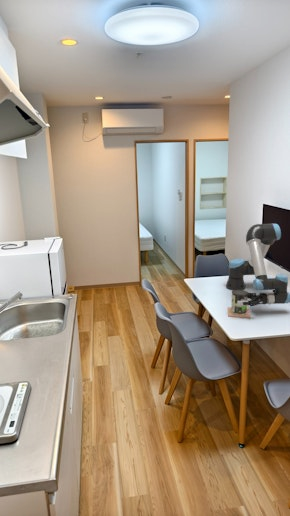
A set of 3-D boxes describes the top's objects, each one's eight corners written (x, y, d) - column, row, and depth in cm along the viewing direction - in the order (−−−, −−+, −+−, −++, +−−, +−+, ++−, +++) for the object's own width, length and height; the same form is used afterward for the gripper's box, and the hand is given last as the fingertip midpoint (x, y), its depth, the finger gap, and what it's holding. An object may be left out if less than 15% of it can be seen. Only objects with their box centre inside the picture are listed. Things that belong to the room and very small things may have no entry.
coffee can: (250, 312, 230) (251, 292, 226) (240, 316, 224) (241, 296, 221) (237, 307, 238) (238, 288, 235) (227, 311, 232) (228, 291, 229)
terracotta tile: (227, 308, 240) (227, 307, 239) (248, 309, 237) (248, 308, 236) (228, 316, 226) (228, 315, 226) (250, 318, 223) (250, 316, 223)
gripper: (272, 311, 218) (239, 312, 218) (259, 296, 242) (229, 297, 242) (273, 300, 216) (240, 300, 216) (260, 286, 240) (229, 287, 240)
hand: (234, 299), depth 229 cm, fingers open, 13 cm apart
